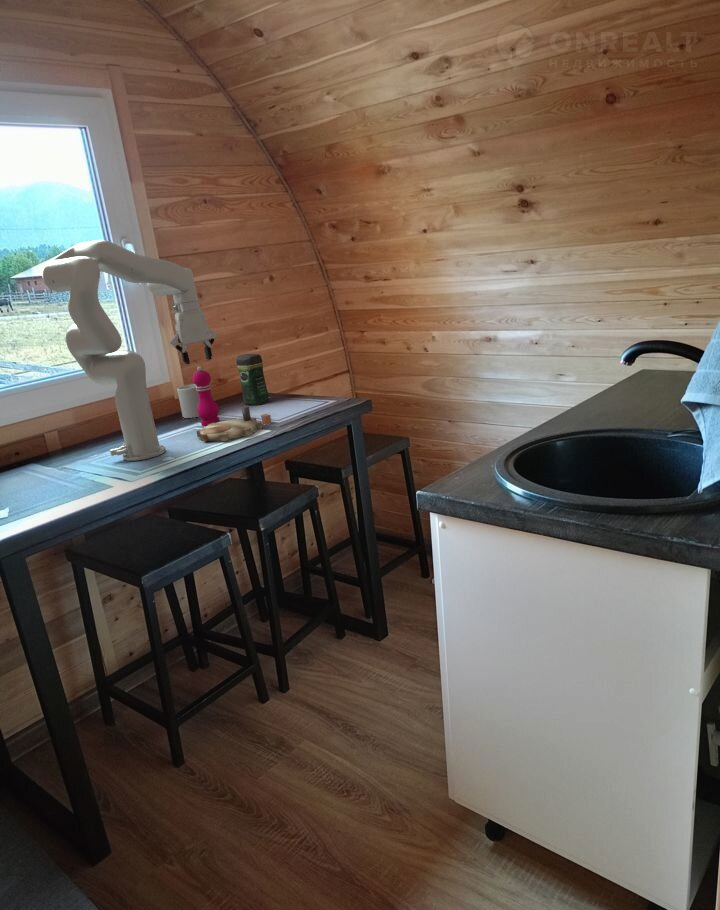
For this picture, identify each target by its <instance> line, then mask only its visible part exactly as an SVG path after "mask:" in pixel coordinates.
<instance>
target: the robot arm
mask: <svg viewBox="0 0 720 910" xmlns="http://www.w3.org/2000/svg"><path fill="white" fill-rule="evenodd" d="M101 272H102V273H106V274H108V275H111V276H113V277H115V278H118V279H121V280H123V281H125V282H127V283H132V284H140V285H141V284H142V285H143V284H146V285H147V289H148V290H149V291H150V293H151V294H153V295H155V296H157V297H158V296H159V297H160V296H161V297H162V296H170V295H172V297H173V303H174V304H173V306H171V307H170V309H171V311H173V312H176V313H175V314H174V327H175V334H174V336H173V337H172V338H171V340H170V341H169V344H170V345H171V346H172V347H174V349H175V350H177V351H179V352H180V354H181V358H182V362H183V363H184V364H185V365H190V364H191V362H190V358H189V353H188V352H187V347H188V345H190V344H195V343H201V342H202V343H203V344H204V354H205V359H206V360H209V361H210V360H212V357H213V353H212V348H211V347H212V345H213V343H214V342H215V340H216V338H217V336H218V333H217V332H215V331H214V330H212V329H210V327H209V325H208V322H207V318H206V315H205V313H204V311H203V309H200V305H199V298H198V293H197V289H196V284H195V283H196V282H195V278H194V274H193V271H192V269H191V268H189V267H183V266H181V265H179V264H177V263H175V262H173V261H169V260H165V259H162V258H158V257H157V258H156V257H151V256H147V255H141V254H138V253H136V252H133V251H131V250H129V249H127V248H125V247H123V246H121V245H118V244H117V243H114V242H112V241H109V240H107V239H97V240H96V239H95V240H90V241H84V242H80V243H76V244H75V245H73V246H71V247H70V248H68V249H66V250H64V251H63V252H61V253H60V254H58V255H56V256H54V257H53V258H51V259H50V260H48V261H47V262H46V263H45V264H44V266H43V268H42V272H41V277H42V281H43V283H44V285H45V286H46V287H47V288H48V289H49V290H51V291H53V292H55V293H56V292H57V293H64V292H69V295H68V303H67V306H68V307H67V309H68V314H69V316H70V318H71V320H72V321H73V324H72V325H71V326H70V327H69V328H67V330H66V334H65V344H66V346H67V349H68V351H69V352H70V354H71V356H72V357H73V358H74V359H75V361H76V362H77V363H78V365H79V366H80V368H81V369H82V370H83V371H84V373H85V374H86V375H87V376H88V378H89V379H91V381H93V382H94V383H95V384H99V385H116V390H115V394H114V401H115V406H116V410H117V416H118V419H119V424H120V428H121V432H122V436H123V440H124V442H122V445H120V446H119V447H117V448H116V447H115V448H112V449H109V453H110V455H111V457H114V456H122V458H123V460H124V461H128V462H135V461H136V462H138V461H142V460H143V461H144V460H148V459H151V458H155V457H157V456H161V455H163V454H164V453H165V452H166V450H167V449H166V446H165V445H162V444H160V441H159V438H158V437H159V436H158V433H157V428H156V423H155V420H154V415H153V410H152V406H151V403H150V398H149V393H148V388H147V387H148V386H147V378H146V375H147V374H146V372H147V371H146V363H145V360H144V358H143V357H142V356H141V354H139V353H138V352H137V351H133V350H128V349H127V350H124V349H123V350H119V349H120V348H121V346H122V342H123V340H122V336H121V334H120V333H119V330H118V329H117V327H116V326H115V324H114V323H113V321H112V320H111V319H110V317H109V315H108V314H107V312H106V310H104V308H103V307H102V305H101V301H100V299H99V285H100V284H99V283H100V279H101ZM178 343H179V344H180V345H179V344H178Z"/></svg>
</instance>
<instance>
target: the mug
mask: <svg viewBox="0 0 720 910" xmlns="http://www.w3.org/2000/svg"><path fill="white" fill-rule="evenodd" d="M176 391H177V395H178V400H179V404H180V409H181V414H182V415H181V416H182V418H183V417H184V418H192V417H198V405H199V394H198V391H197V390H196V385H195V384H194V383H192V384H187V385H182V386H179V387H177V388H176ZM184 418H183V419H184Z"/></svg>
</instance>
